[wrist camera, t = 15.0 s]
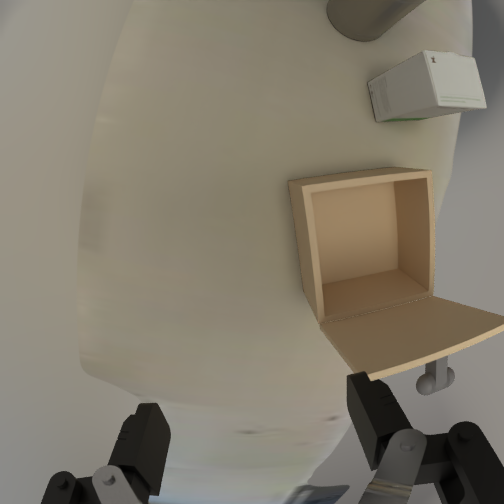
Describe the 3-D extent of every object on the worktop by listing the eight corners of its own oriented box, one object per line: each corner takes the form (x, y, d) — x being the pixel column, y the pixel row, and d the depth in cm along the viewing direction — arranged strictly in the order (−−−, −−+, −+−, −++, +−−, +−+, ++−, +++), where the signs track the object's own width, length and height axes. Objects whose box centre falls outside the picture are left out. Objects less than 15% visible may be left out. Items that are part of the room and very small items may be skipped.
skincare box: (374, 122, 39) (435, 108, 24) (365, 79, 37) (420, 46, 22) (421, 120, 38) (489, 111, 23) (413, 79, 37) (476, 55, 22)
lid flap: (361, 376, 20) (364, 431, 20) (513, 319, 19) (510, 369, 19) (319, 324, 35) (324, 363, 36) (432, 295, 35) (434, 332, 35)
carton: (287, 180, 41) (301, 186, 31) (394, 166, 40) (431, 170, 31) (303, 290, 45) (318, 323, 35) (400, 270, 45) (433, 295, 35)
